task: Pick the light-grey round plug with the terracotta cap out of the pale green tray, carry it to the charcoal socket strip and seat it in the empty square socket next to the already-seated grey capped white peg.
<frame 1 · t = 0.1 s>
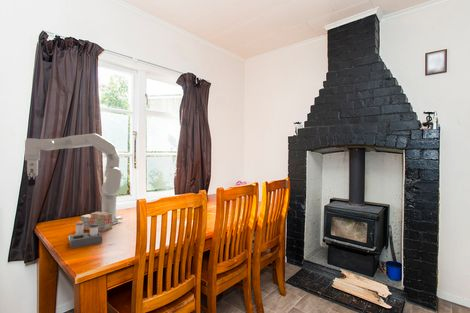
hand: (31, 184, 158), 31 cm above the table, fingers open, 9 cm apart
plug: (79, 238, 151), resting on tray
stack of blocks: (95, 230, 169), on the table
grey capped white peg: (93, 241, 144), point 1 cm above the table, touching socket strip
socket strip: (85, 245, 142), on the table
tray: (79, 239, 151), on the table
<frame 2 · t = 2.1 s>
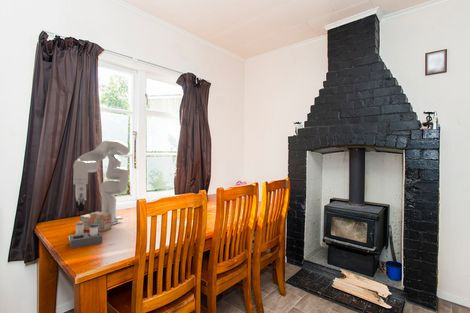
hand: (79, 209, 151), 18 cm above the table, fingers open, 9 cm apart
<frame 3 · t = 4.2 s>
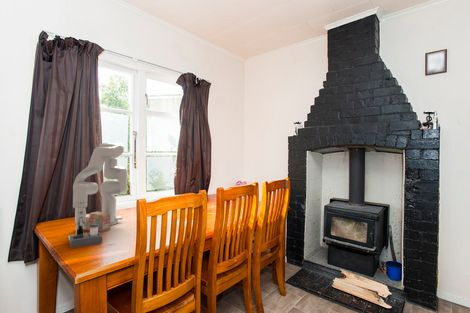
hand: (79, 234, 151), 3 cm above the table, fingers closed on plug, 4 cm apart
plug: (79, 238, 151), point 1 cm above the table, touching gripper, tray
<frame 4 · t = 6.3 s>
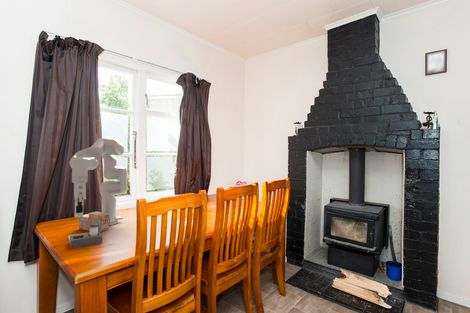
hand: (78, 211, 140), 20 cm above the table, fingers closed on plug, 4 cm apart
plug: (78, 216, 140), point 17 cm above the table, touching gripper
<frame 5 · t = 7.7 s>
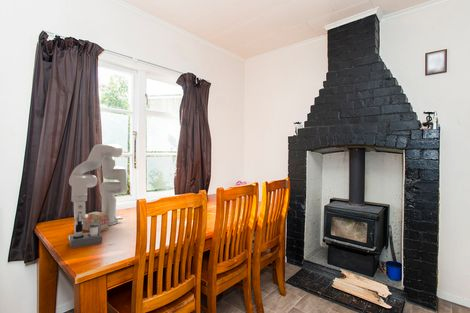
hand: (78, 230, 139), 9 cm above the table, fingers closed on plug, 4 cm apart
plug: (78, 235, 139), point 7 cm above the table, touching gripper
when the fingers open (7 cm above the table, at t = 8.7 s): plug drops 2 cm, resting on socket strip.
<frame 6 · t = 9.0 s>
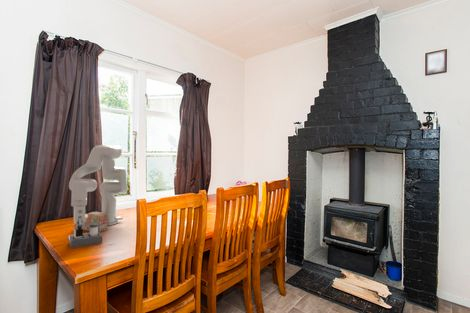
hand: (78, 234, 139), 7 cm above the table, fingers open, 6 cm apart
plug: (78, 244, 139), point 2 cm above the table, touching socket strip
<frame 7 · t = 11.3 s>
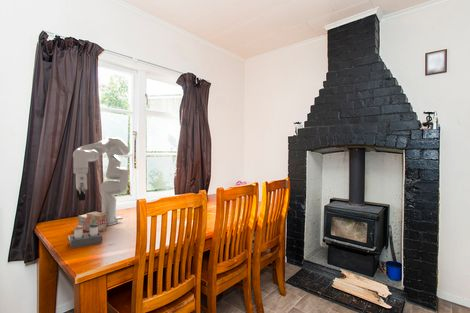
hand: (80, 198, 150), 25 cm above the table, fingers open, 9 cm apart
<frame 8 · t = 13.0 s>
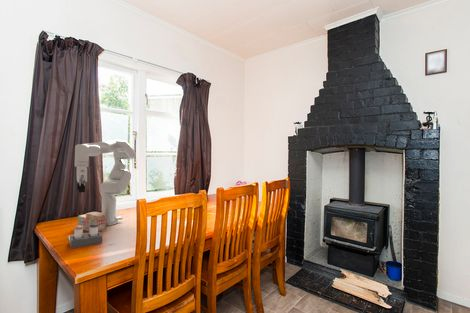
hand: (81, 191, 157), 28 cm above the table, fingers open, 9 cm apart
at the end: plug 0.1 cm from the target spot on the socket strip, point 1.5 cm above the socket strip's base; plug tilted 1°; the gripper is holding nothing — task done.
